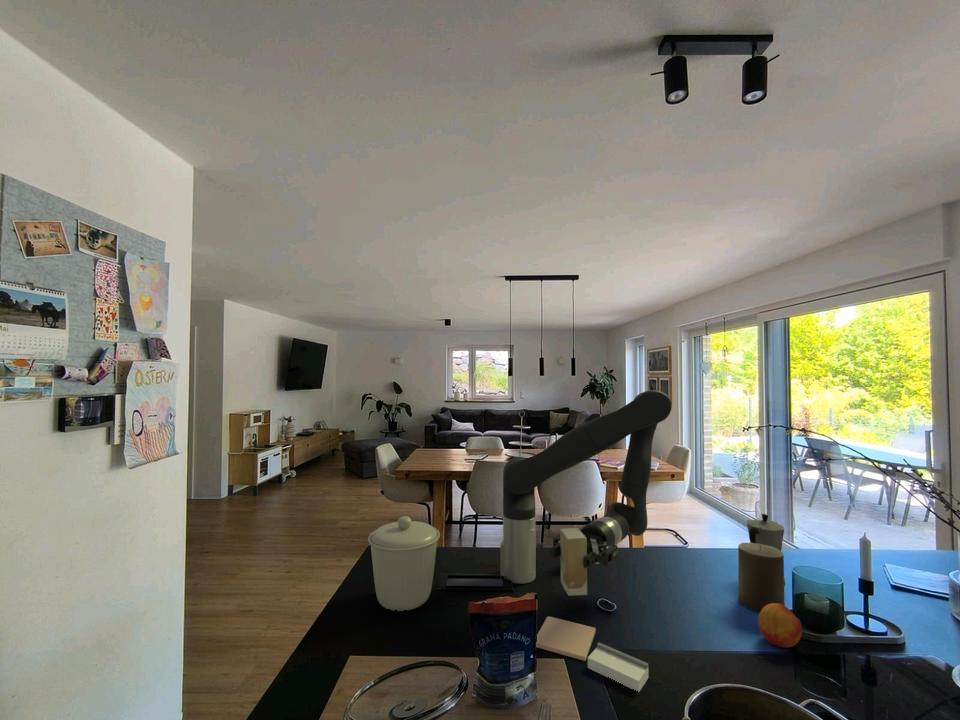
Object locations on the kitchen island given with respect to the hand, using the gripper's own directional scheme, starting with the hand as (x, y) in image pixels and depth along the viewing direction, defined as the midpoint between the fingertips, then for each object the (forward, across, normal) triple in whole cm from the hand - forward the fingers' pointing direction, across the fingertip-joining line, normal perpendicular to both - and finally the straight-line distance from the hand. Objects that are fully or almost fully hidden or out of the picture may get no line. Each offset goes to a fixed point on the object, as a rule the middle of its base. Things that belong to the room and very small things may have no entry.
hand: (568, 558), depth 92 cm
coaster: (-1, -1, +18) cm, 18 cm away
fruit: (-29, +34, +18) cm, 49 cm away
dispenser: (+2, +12, +18) cm, 21 cm away
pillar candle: (-45, +29, +19) cm, 57 cm away
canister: (+12, -41, +18) cm, 46 cm away
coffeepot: (-61, +28, +19) cm, 70 cm away
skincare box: (-2, 0, +8) cm, 8 cm away
